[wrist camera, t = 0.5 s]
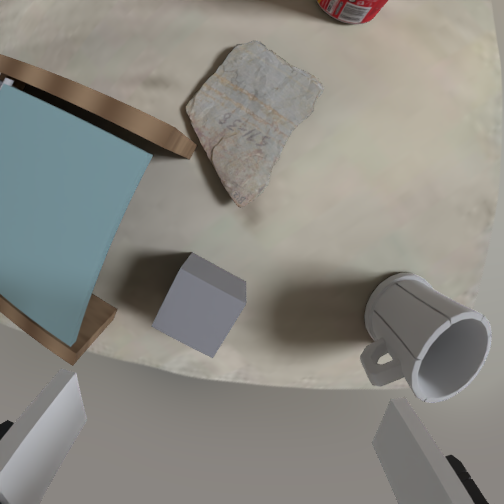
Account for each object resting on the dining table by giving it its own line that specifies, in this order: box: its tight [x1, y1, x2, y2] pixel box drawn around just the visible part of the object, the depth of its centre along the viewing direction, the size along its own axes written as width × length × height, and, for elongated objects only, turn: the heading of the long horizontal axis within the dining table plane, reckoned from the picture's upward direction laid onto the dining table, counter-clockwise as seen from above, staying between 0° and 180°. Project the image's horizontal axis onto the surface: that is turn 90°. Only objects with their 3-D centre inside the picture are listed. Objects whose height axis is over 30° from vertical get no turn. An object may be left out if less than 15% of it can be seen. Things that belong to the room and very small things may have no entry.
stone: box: [186, 41, 324, 208], centre depth 27 cm, size 15×11×3 cm
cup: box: [360, 273, 492, 403], centre depth 27 cm, size 10×9×12 cm
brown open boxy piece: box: [0, 54, 197, 366], centre depth 23 cm, size 26×20×10 cm
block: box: [152, 252, 246, 358], centre depth 28 cm, size 6×6×6 cm
